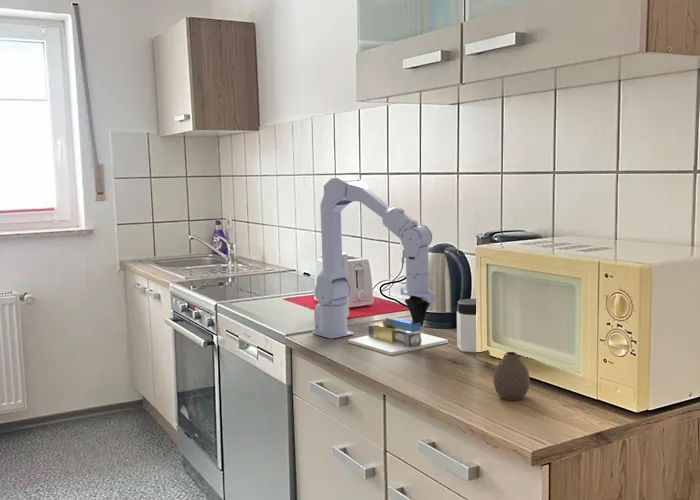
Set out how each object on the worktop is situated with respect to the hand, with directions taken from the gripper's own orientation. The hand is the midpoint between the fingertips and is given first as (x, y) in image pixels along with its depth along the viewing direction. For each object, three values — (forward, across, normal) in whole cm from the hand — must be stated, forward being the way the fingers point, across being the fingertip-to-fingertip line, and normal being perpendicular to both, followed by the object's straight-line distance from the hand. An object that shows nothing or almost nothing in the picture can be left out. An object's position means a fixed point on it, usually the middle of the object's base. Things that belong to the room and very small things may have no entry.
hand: (418, 326), depth 177 cm
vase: (+5, +44, -5) cm, 45 cm away
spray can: (+6, -45, -3) cm, 45 cm away
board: (+5, -6, -3) cm, 9 cm away
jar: (+5, +10, +10) cm, 15 cm away
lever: (0, -3, -3) cm, 5 cm away
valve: (+4, -6, -4) cm, 8 cm away
